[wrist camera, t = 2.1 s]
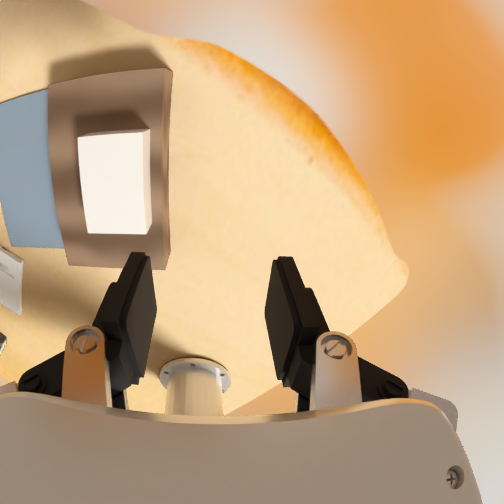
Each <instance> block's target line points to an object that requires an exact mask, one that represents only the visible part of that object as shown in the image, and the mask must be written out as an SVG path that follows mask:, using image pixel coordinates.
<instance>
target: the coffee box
mask: <svg viewBox="0 0 504 504" xmlns="http://www.w3.org/2000/svg"><path fill="white" fill-rule="evenodd" d="M5 345H6V337H5V336H4V335H2V334H1V333H0V355H1V353H2V351H3V349H4V347H5Z"/></svg>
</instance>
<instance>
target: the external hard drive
mask: <svg viewBox="0 0 504 504" xmlns="http://www.w3.org/2000/svg"><path fill="white" fill-rule="evenodd" d="M23 265H24V260H22V259H21V258H19V257H18V256H16V255H14V254H13V253H11V252H10V251H7V250H5V249H4V248H3V247H2V246H1V245H0V303H1V304H2V305H4V306H5V307H7V308H8V309H10V310H11V311H13V312H14V313H16V314H18V315H20V314H21V313H22V282H23Z"/></svg>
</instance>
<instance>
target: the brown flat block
mask: <svg viewBox="0 0 504 504" xmlns="http://www.w3.org/2000/svg"><path fill="white" fill-rule="evenodd" d="M172 78H173V72H172V71H170V70H168V69H166V68H154V69H141V70H130V71H121V72H113V73H106V74H99V75H93V76H88V77H82V78H77V79H72V80H68V81H63V82H59V83H55V84H51V85H48V142H49V156H50V167H51V176H52V184H53V192H54V198H55V205H56V210H57V216H58V221H59V226H60V231H61V236H62V240H63V244H64V249H65V253H66V257H67V260H68V264H69V265H72V266H89V267H107V268H124V266H125V264H126V262H127V259H128V257H129V255H130V253H131V252H145V254H146V256H150V259H151V268H152V270H165V269H166V266H167V262H168V258H169V255H170V251H171V249H170V228H169V183H168V170H169V126H170V106H171V91H172ZM135 129H150V186H151V210H152V224H151V226H150V228H149V230H148V232H147V234H101V233H88V231H87V225H86V219H85V213H84V206H83V198H82V190H81V181H80V170H79V156H78V137H80V136H83V135H86V134H89V133H95V132H106V131H118V130H135Z"/></svg>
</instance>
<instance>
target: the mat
mask: <svg viewBox="0 0 504 504" xmlns="http://www.w3.org/2000/svg"><path fill="white" fill-rule="evenodd" d="M0 202H1V206H2V211H3V215H4V220H5V224H6V228H7V232H8V235H9V239H10V242H11V246H12V247H39V248H64V244H63V240H62V236H61V231H60V226H59V221H58V216H57V210H56V205H55V198H54V192H53V184H52V176H51V167H50V156H49V142H48V89H46V90H42V91H39V92H35V93H32V94H28V95H25V96H22V97H19V98H16V99H13V100H10V101H7V102H4V103H2V104H0Z"/></svg>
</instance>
